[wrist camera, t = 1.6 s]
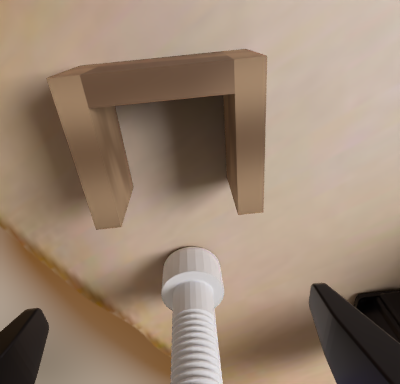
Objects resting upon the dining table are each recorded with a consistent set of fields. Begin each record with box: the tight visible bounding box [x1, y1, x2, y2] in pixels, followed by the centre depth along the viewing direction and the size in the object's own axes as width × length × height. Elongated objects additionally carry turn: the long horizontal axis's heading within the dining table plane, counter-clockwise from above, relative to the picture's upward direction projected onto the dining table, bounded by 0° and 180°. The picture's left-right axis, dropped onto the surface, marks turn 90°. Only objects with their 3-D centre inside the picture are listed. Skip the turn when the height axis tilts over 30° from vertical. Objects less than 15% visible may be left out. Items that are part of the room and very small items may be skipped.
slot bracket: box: [46, 49, 267, 230], centre depth 17 cm, size 8×10×5 cm
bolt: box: [161, 247, 224, 384], centre depth 19 cm, size 16×5×5 cm
